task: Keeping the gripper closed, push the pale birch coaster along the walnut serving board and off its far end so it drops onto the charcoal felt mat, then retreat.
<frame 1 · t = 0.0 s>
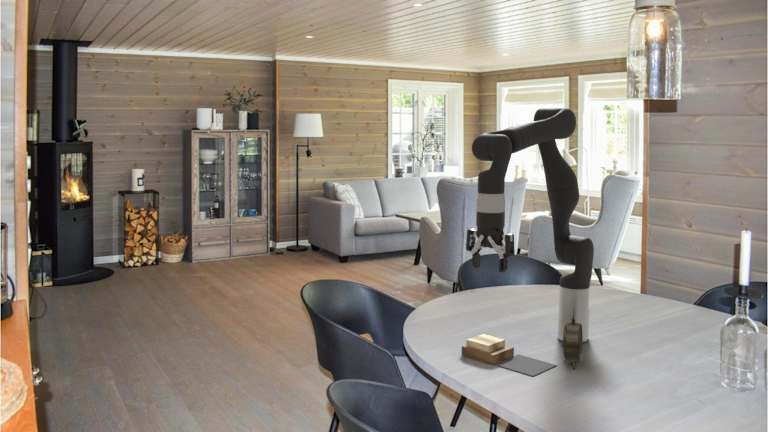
hand: (489, 269, 188), 29 cm above the table, fingers open, 8 cm apart
alarm clock: (571, 364, 200), on the table
mat: (525, 365, 199), on the table
board: (487, 356, 207), on the table
coaster: (485, 346, 207), point 3 cm above the table, touching board
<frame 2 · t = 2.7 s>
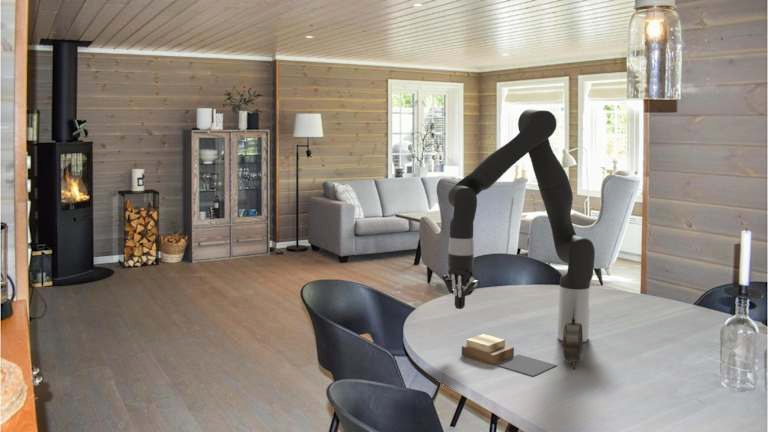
hand: (459, 308, 212), 13 cm above the table, fingers closed
nothing on the table moved.
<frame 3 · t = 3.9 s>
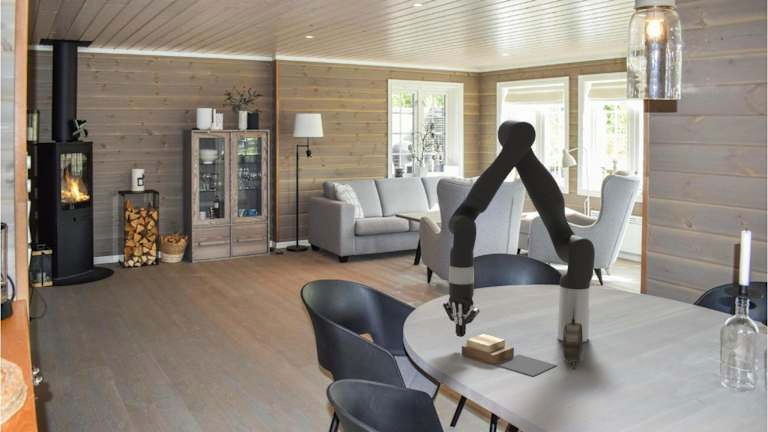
hand: (460, 335, 213), 4 cm above the table, fingers closed
nothing on the table moved.
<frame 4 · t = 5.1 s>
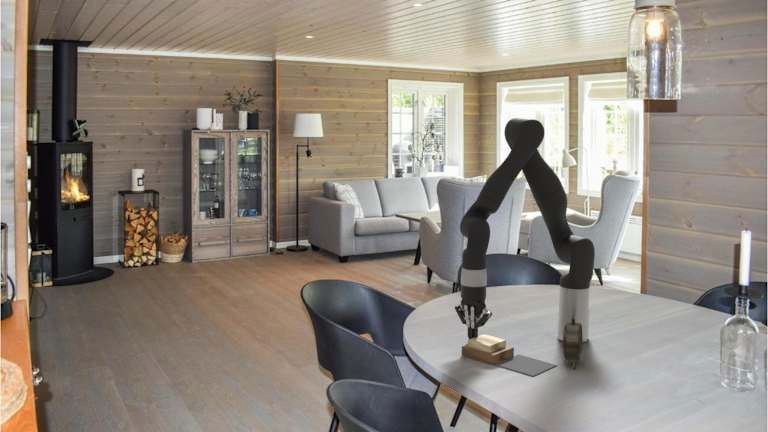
hand: (472, 339, 210), 4 cm above the table, fingers closed
coaster: (486, 346, 206), point 3 cm above the table, touching gripper
everything else where it was.
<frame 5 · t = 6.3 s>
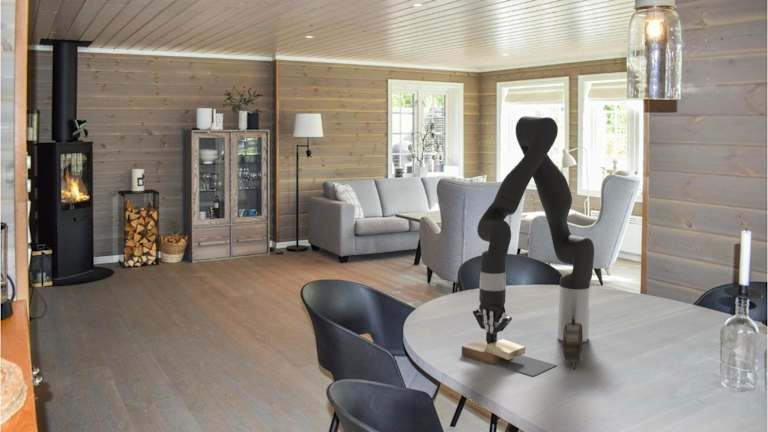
hand: (491, 344, 205), 4 cm above the table, fingers closed
coaster: (505, 352, 201), point 3 cm above the table, touching gripper
everything else where it was.
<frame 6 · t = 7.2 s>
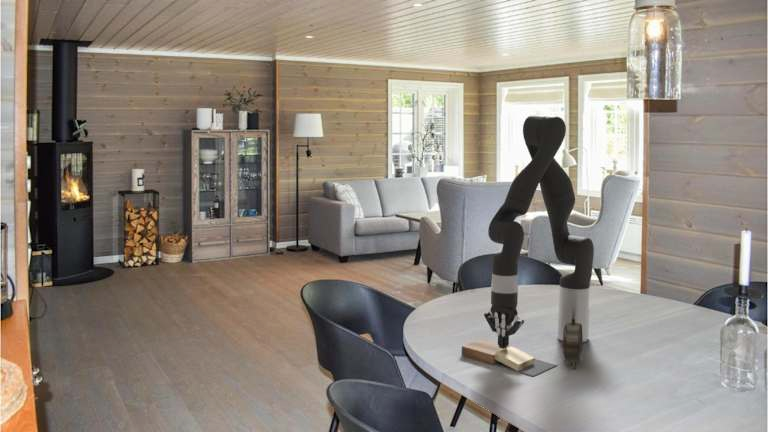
hand: (503, 347, 202), 4 cm above the table, fingers closed
coaster: (514, 361, 199), point 1 cm above the table, tilted 11°, touching mat
everything else where it was.
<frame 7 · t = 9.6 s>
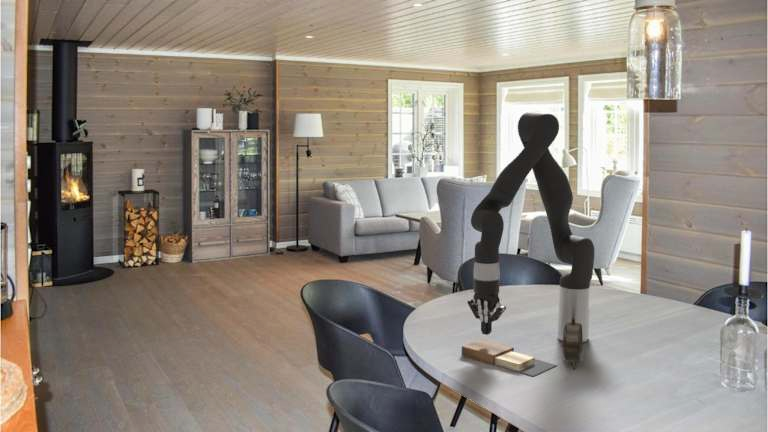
hand: (486, 333, 207), 6 cm above the table, fingers closed
coaster: (514, 364, 199), resting on mat
everything else where it was.
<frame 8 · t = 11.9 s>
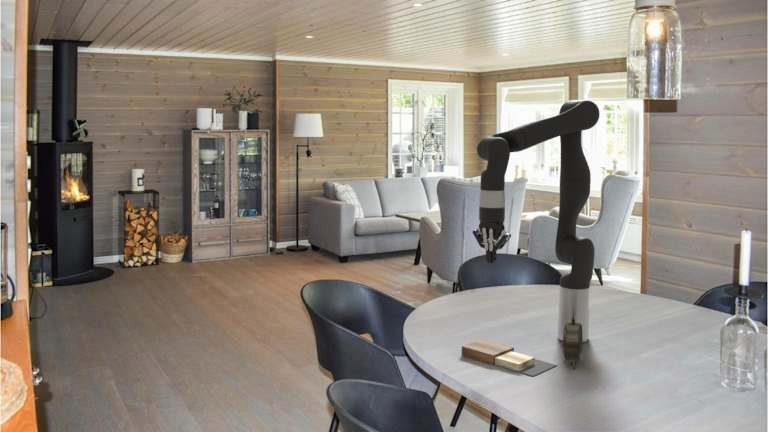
hand: (490, 262, 209), 27 cm above the table, fingers closed
nothing on the table moved.
at the end: coaster inside the target area (3.0 cm from its centre), resting on mat; coaster resting on mat; coaster touching mat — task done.
